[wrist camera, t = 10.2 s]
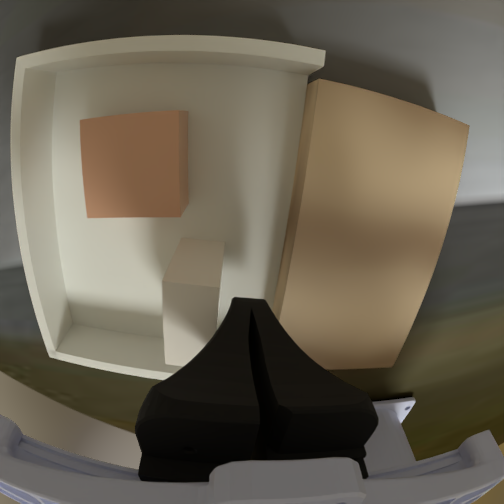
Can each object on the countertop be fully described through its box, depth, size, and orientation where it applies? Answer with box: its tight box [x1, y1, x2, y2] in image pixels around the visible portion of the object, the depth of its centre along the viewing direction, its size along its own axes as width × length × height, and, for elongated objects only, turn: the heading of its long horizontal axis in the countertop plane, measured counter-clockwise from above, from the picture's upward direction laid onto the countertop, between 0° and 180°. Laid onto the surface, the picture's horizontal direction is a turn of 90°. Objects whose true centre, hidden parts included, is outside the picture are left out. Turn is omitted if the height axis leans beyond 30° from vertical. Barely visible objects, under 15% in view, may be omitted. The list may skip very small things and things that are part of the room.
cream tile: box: [162, 238, 225, 366], centre depth 13 cm, size 4×4×2 cm
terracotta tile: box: [80, 110, 189, 218], centre depth 12 cm, size 4×4×2 cm
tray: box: [11, 35, 326, 380], centre depth 13 cm, size 15×12×3 cm
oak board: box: [272, 79, 469, 370], centre depth 14 cm, size 13×7×2 cm, turn 173°
